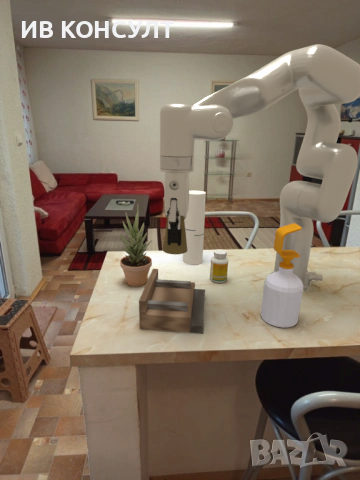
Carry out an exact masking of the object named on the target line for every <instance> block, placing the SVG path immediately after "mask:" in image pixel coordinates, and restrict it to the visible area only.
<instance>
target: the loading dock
mask: <svg viewBox="0 0 360 480" xmlns="http://www.w3.org/2000/svg"><path fill="white" fill-rule="evenodd" d="M205 297H206V289H204V288H202V289H201V288H200V289H199V288H196V282H194V281H193V282H192V281H189V280H172V279H159V268H152V270H151V272H150V274H149V277H148V278H147V282H146V283H145V286H144V288H143V290H142V293H141V295H140V298H139V299H138V317H139V319H138V320H139V321H138V322H139V324H138V325H139V329H140V330H151V331H164V332H178V333H189V334H190V333H191V334H202V335H203V334H204V321H205V319H204V318H205V302H206V298H205Z"/></svg>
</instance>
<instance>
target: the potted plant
mask: <svg viewBox="0 0 360 480" xmlns="http://www.w3.org/2000/svg"><path fill="white" fill-rule="evenodd" d="M136 207H137V208H136V214H135V220H134V224H133V226H132V223H131V221H130V219H129V216H128V213H127V212H125V218H126V223H127V225H126V224H125V222H124V220H122V225H123V227H124V228H123V229H124V231H125V233H126V235H127V238H125V237H124V236H123V235H122V234H121V233H119V238H120V241H121V243H122V244H123V245H124V247H122V250H124V252H125V253H126V254H124V255H125V256H123V257H121V258H120V260H119V265H120V268H121V269H122V271H123V274H124V277H125V280H126V284H128V285H129V286H132V287H141V286H144V285H146V283H147V281H148V275H149V272H150V270H151V268H152V265H153V259H152V257H150V256H149V255H147V252H145V251H146V250H147V247H148V246H149V245H150V244H151V243H152V242H153V240H150V241H149V242H148V243H147V241H145V239H146V238H147V234H148V232H146V233H145V234H144V230H145V222H143V223H142V225H141V227H140V230H139V220H140V219H139V218H140V214H139V213H140V210H139V209H140V208H139V204H137V206H136ZM143 234H144V235H143ZM144 241H145V243H144Z"/></svg>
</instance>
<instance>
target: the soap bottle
mask: <svg viewBox="0 0 360 480" xmlns="http://www.w3.org/2000/svg"><path fill="white" fill-rule="evenodd" d="M299 230H302V227H300V226H299V225H297V224H295V223H293V224H290V225H286V226H283V227H280V226H279V227H278V228H277V229H276V230H275V234H274V235H275V237H274V243H273V249H274V251H275V252H277V253H278V254H279V255H280V256H281V257H282V259H284V260H283V262H280V263H279V270H278V271H277V272H274V271H273V273H272V272H271V273H272V274H270V273H269V274H270V275H269V274H268V275H267V276H266V278H265V280H264V283H263V290H262V291H263V292H262V300H261V307H260V308H261V309H260V316H261V318H262V320H263V321H264V322H265V323H267V324H268V325H271V326H274V327H277V328H292V327H295V325H297V324H298V322H299V321H298V320H299V316H300V309H301V303H302V298H303V292H304V291H303V283H302V281H301V280H300V279H299V278H298V277H297V276H296V275H294V274H293V268H294V265H293V264H292V263H291V260H293V259H294V258H299V257H300V255H299V254H298V253H297V252H296V251H294V250H282V249H283V241H284V237H285V236H286V235H287V234H290V233H293V232H296V231H299Z"/></svg>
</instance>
